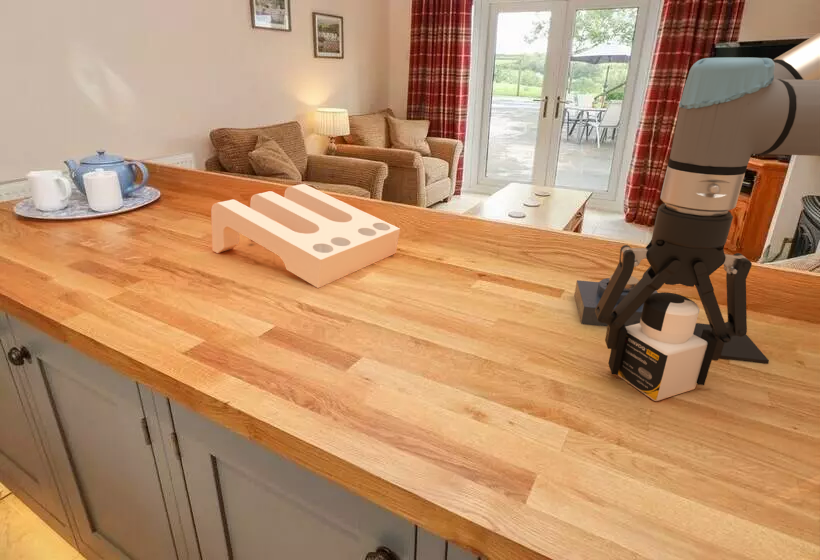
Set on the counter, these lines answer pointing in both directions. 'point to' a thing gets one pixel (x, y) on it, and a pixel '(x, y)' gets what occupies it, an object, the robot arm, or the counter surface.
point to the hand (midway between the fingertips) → (654, 373)
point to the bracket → (306, 232)
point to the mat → (736, 347)
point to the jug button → (629, 284)
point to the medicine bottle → (663, 347)
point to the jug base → (590, 297)
